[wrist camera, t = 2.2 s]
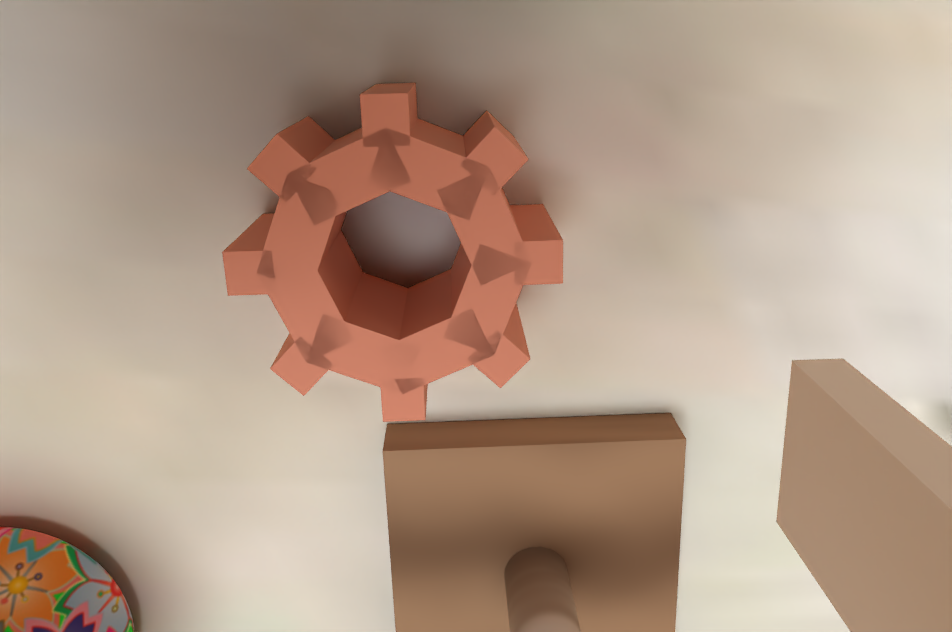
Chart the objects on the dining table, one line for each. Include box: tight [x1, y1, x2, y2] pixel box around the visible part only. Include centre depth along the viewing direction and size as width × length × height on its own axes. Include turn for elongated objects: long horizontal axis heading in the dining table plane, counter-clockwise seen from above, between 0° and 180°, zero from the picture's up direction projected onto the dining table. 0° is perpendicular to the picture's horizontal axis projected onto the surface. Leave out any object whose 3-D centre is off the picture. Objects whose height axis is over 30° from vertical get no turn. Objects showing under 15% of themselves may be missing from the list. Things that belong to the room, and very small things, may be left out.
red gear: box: [222, 83, 563, 422], centre depth 24 cm, size 9×9×5 cm
